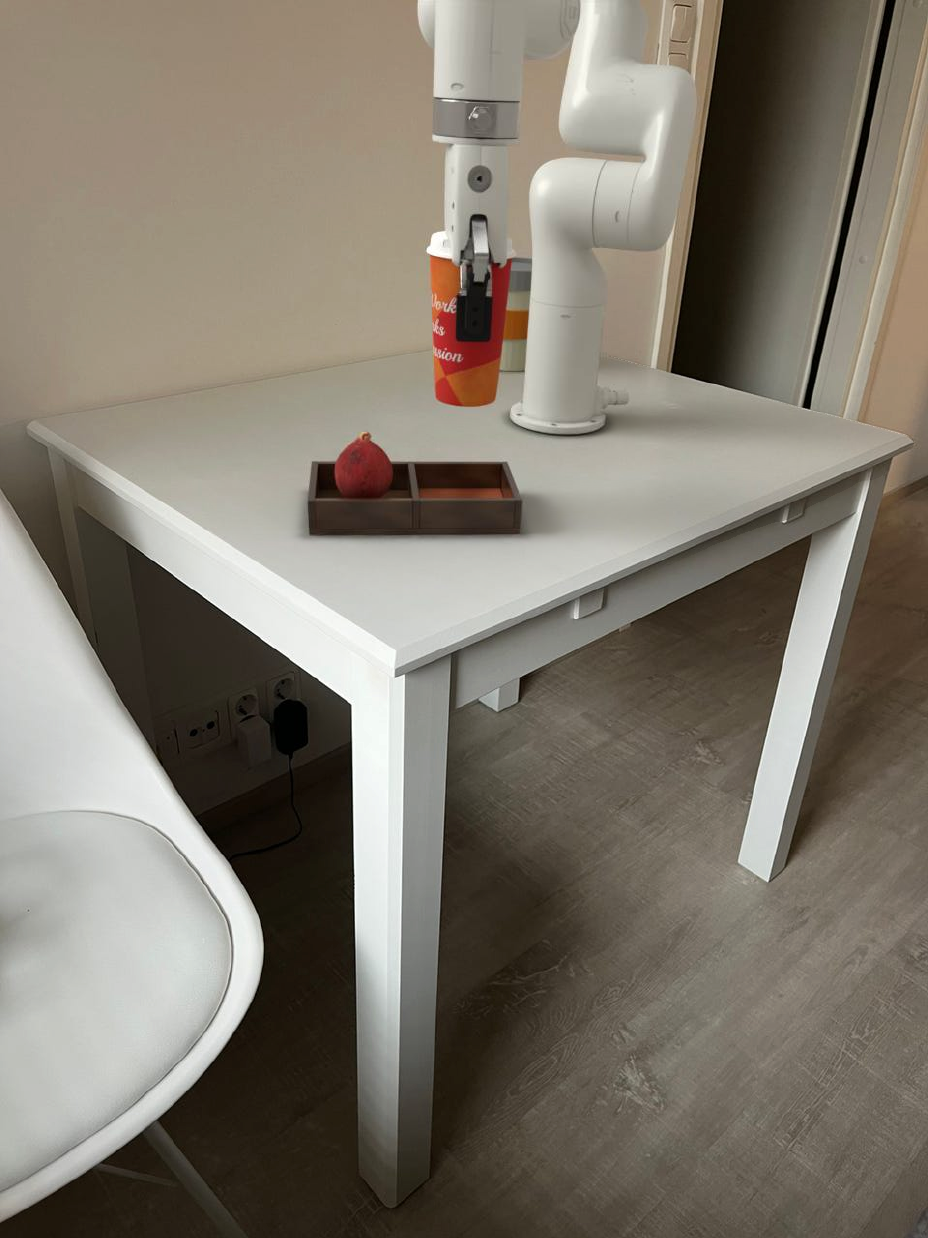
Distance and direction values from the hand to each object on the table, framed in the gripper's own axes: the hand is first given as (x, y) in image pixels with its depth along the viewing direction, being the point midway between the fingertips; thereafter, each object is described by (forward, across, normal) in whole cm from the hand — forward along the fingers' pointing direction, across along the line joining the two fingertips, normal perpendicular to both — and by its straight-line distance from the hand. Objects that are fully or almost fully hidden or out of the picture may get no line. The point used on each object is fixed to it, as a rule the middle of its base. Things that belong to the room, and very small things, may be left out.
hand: (467, 328), depth 92 cm
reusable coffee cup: (+19, +58, -13) cm, 63 cm away
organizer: (+19, 0, +5) cm, 19 cm away
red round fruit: (+18, 0, +10) cm, 21 cm away
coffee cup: (+7, 0, 0) cm, 7 cm away
